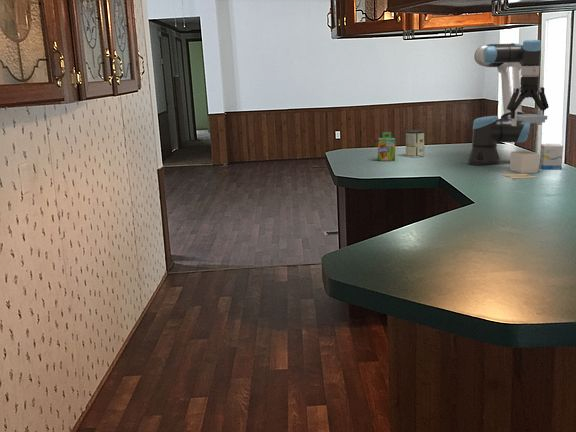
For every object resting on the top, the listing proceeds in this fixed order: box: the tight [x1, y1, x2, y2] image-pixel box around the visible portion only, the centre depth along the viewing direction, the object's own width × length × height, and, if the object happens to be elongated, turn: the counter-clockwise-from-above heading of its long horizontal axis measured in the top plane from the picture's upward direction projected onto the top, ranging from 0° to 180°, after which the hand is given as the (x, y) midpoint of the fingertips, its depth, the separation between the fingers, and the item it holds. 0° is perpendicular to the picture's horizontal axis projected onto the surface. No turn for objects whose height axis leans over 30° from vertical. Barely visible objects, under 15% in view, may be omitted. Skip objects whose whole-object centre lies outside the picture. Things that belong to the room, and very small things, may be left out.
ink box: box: [539, 143, 564, 171], centre depth 291 cm, size 9×8×12 cm
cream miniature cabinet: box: [405, 129, 426, 158], centre depth 346 cm, size 10×10×14 cm
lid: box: [508, 113, 548, 124], centre depth 281 cm, size 12×12×3 cm
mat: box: [501, 173, 538, 180], centre depth 273 cm, size 10×11×1 cm
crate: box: [509, 150, 540, 174], centre depth 285 cm, size 10×8×9 cm
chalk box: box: [377, 131, 397, 162], centre depth 333 cm, size 9×9×15 cm
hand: (526, 125), depth 282 cm, fingers closed on lid, 12 cm apart
